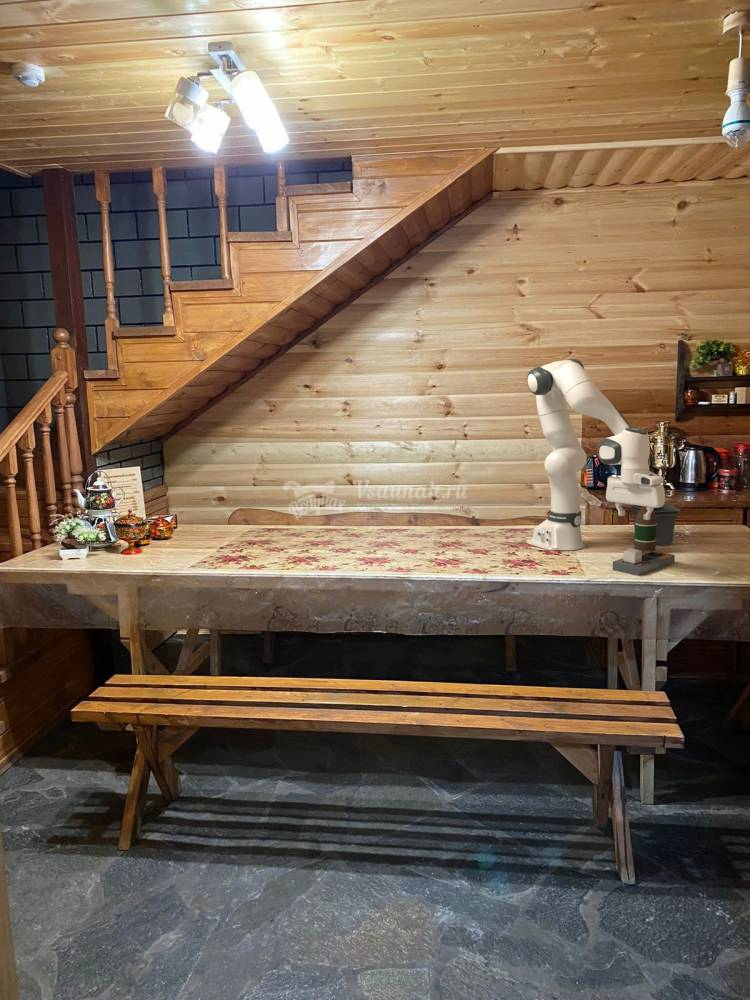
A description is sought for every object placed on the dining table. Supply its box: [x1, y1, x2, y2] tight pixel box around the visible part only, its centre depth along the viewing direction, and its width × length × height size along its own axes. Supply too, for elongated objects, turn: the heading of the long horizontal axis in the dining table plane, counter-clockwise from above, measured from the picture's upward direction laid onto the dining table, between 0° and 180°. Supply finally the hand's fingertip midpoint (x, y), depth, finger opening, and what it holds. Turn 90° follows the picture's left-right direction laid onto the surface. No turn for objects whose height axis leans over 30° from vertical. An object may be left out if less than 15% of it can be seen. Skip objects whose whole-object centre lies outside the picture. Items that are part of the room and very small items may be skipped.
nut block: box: [623, 548, 642, 565], centre depth 249 cm, size 4×4×7 cm
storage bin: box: [629, 503, 681, 547], centre depth 289 cm, size 21×16×14 cm
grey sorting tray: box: [612, 550, 676, 577], centre depth 253 cm, size 10×22×4 cm, turn 128°
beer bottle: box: [633, 506, 657, 552], centre depth 273 cm, size 8×8×24 cm
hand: (633, 517), depth 246 cm, fingers open, 8 cm apart
